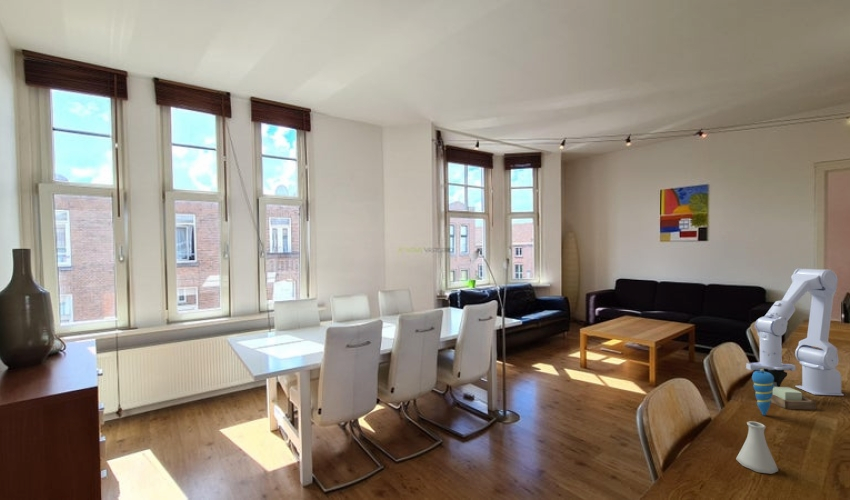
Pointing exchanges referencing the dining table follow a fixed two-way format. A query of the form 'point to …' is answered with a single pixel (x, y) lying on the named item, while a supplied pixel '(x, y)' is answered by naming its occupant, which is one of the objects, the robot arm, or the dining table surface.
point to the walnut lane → (793, 403)
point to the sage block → (786, 393)
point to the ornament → (763, 389)
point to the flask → (756, 451)
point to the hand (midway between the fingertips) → (770, 390)
